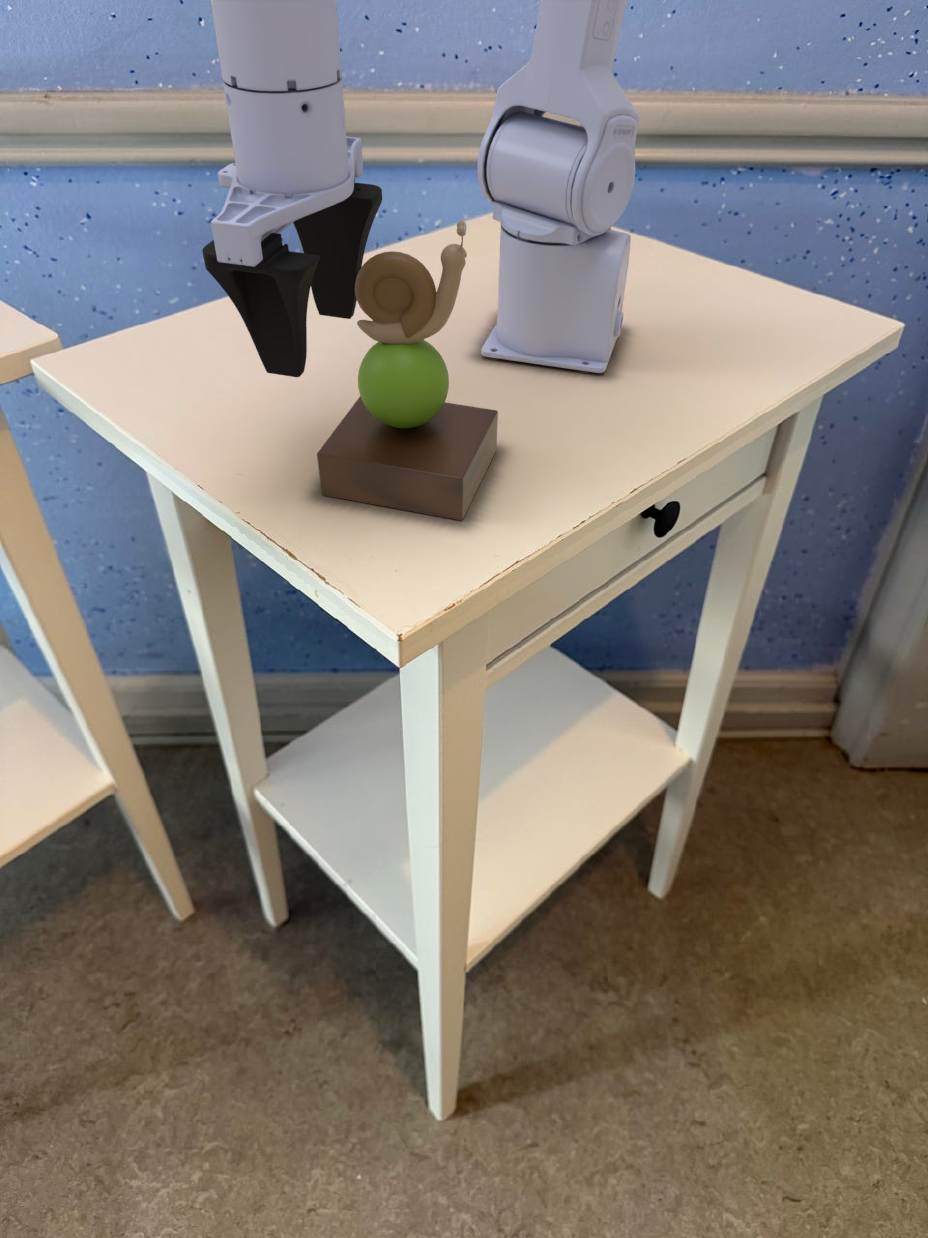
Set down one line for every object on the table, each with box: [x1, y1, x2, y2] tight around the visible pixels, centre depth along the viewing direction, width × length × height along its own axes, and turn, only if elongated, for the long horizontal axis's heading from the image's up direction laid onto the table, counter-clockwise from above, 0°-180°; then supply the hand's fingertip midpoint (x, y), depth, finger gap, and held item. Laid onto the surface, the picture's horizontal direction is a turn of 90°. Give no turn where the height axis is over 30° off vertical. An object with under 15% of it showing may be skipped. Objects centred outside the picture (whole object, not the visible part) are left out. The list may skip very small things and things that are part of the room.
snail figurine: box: [355, 220, 468, 428], centre depth 52 cm, size 5×6×12 cm
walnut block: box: [316, 395, 499, 521], centre depth 56 cm, size 9×8×3 cm
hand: (312, 342), depth 53 cm, fingers open, 7 cm apart
